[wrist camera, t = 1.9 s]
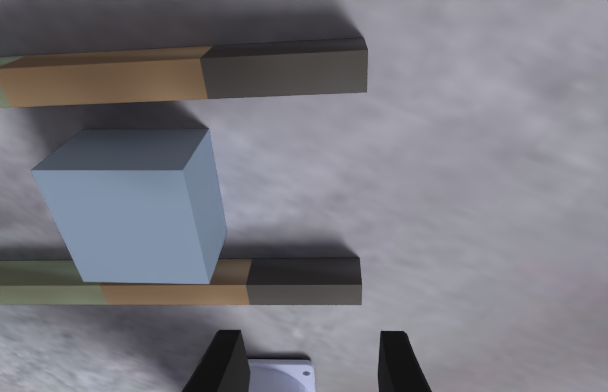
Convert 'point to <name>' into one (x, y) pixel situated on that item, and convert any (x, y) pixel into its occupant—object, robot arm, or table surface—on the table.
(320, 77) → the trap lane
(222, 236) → the slate block
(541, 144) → the table surface
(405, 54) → the table surface
